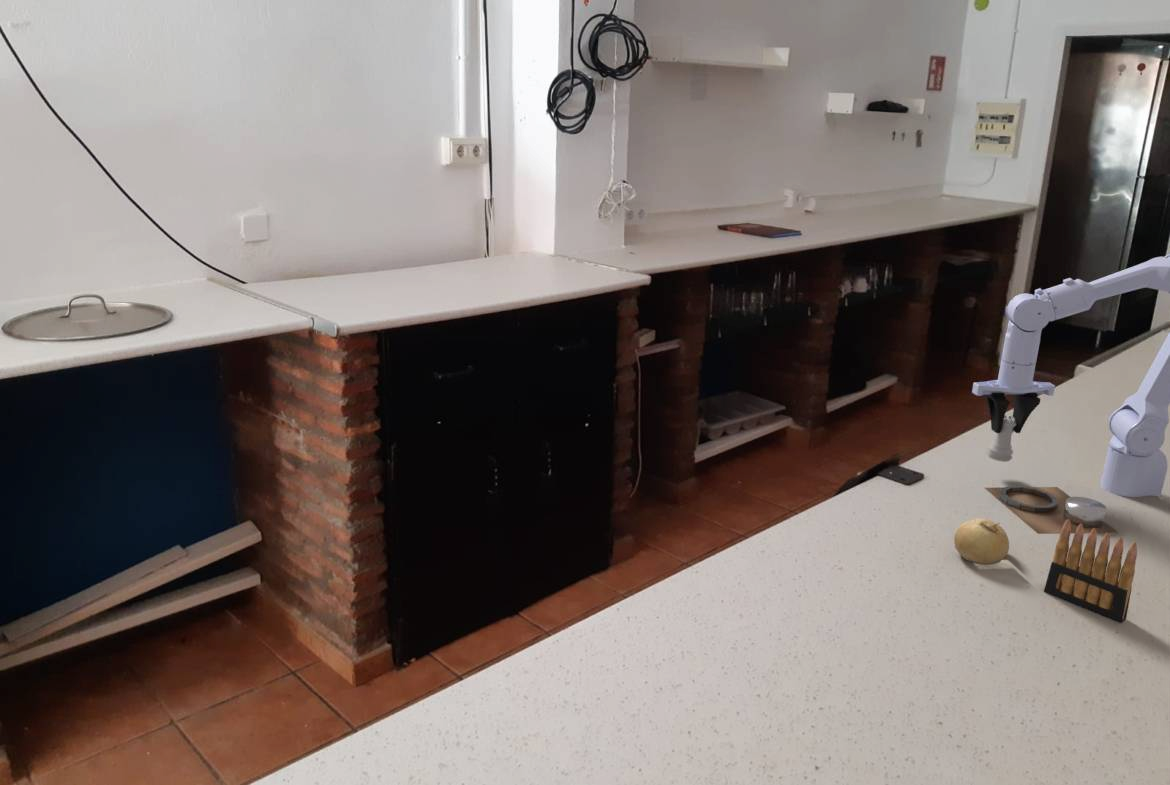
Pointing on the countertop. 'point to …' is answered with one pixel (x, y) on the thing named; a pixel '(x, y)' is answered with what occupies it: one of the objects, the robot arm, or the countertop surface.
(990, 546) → the onion
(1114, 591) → the ammunition clip
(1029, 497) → the carrier board
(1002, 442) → the rook chess piece
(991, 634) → the countertop surface
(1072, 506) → the silver metal dome
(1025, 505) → the socket ring
